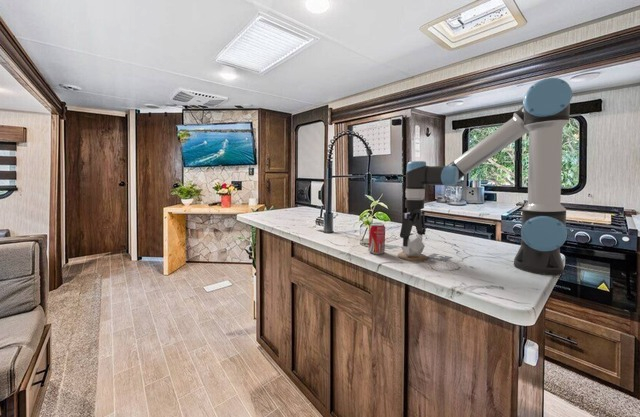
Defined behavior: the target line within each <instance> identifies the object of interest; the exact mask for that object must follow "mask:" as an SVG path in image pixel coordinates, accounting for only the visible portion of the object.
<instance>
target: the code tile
mask: <svg viewBox="0 0 640 417" xmlns="http://www.w3.org/2000/svg"><path fill="white" fill-rule="evenodd" d="M426 256H427V259H433V260H437V261H440V262H446V261H448V260H450V259H452V258H453V256H448V255H444V254H439V253H434V252H433V253H431V254H429V255H426Z"/></svg>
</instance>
